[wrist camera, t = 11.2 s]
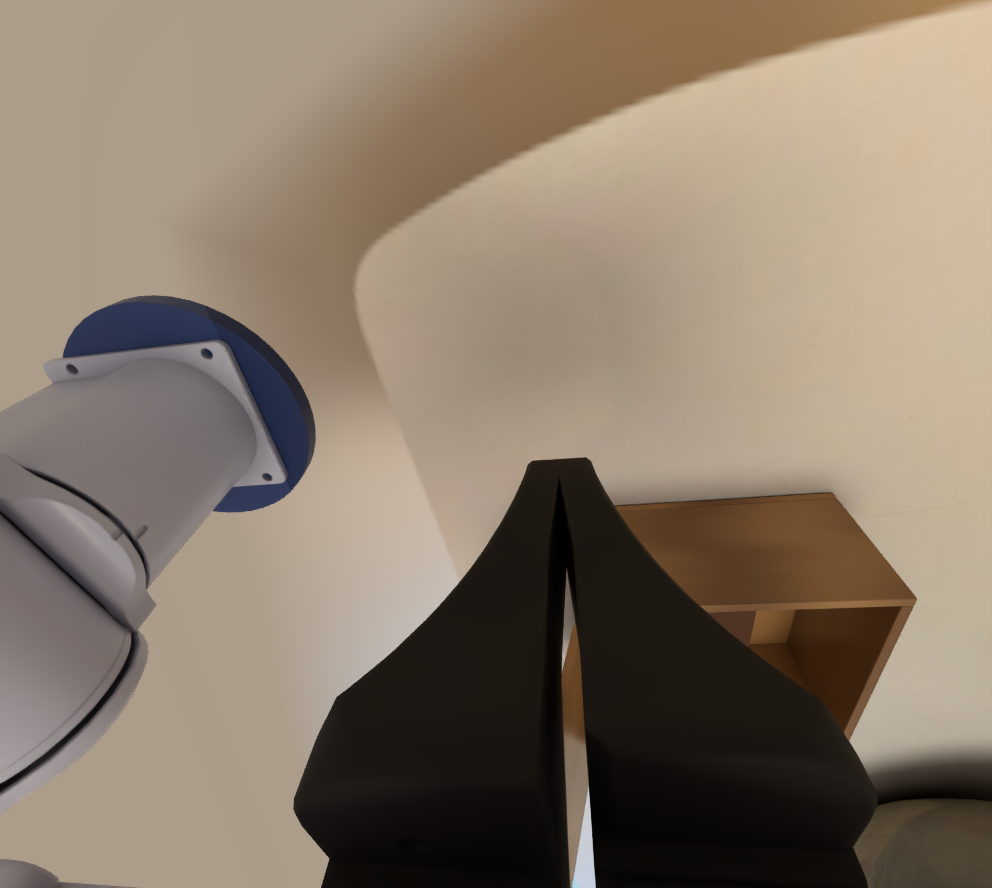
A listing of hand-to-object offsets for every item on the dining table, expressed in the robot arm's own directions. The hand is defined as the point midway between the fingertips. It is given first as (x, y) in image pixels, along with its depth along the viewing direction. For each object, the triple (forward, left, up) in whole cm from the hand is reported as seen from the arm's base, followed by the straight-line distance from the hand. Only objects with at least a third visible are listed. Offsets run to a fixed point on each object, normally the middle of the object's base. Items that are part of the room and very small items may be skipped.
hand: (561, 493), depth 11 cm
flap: (0, -14, 0) cm, 14 cm away
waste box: (+6, -14, -9) cm, 18 cm away
